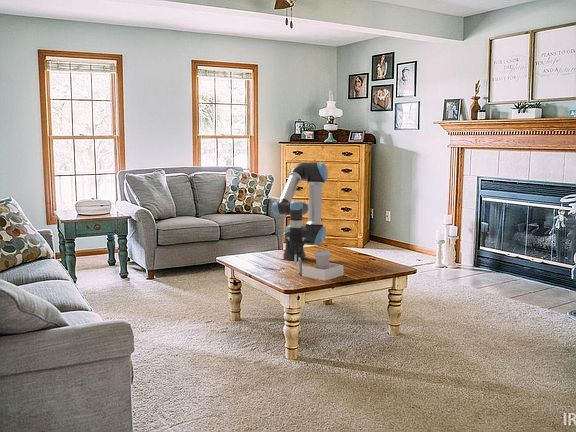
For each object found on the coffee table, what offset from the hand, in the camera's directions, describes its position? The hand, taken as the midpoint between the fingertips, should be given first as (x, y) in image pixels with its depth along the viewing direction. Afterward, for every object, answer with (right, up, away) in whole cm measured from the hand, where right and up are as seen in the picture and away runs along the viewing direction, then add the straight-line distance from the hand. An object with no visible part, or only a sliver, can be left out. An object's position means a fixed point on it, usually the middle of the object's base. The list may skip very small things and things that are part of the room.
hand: (295, 265), depth 345 cm
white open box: (+16, -5, -9) cm, 19 cm away
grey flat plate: (+3, -4, 0) cm, 5 cm away
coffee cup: (+16, -6, -9) cm, 19 cm away
